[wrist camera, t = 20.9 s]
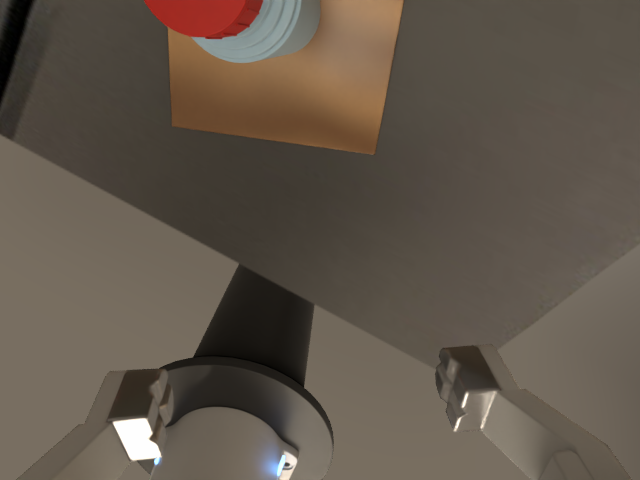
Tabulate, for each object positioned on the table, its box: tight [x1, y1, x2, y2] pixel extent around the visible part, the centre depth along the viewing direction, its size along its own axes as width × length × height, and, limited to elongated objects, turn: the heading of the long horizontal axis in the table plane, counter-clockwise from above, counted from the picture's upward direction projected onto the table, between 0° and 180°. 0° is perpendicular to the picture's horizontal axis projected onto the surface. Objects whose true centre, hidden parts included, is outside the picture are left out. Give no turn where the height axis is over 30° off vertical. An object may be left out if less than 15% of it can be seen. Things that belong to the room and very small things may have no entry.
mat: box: [168, 0, 404, 155], centre depth 31 cm, size 20×18×1 cm
